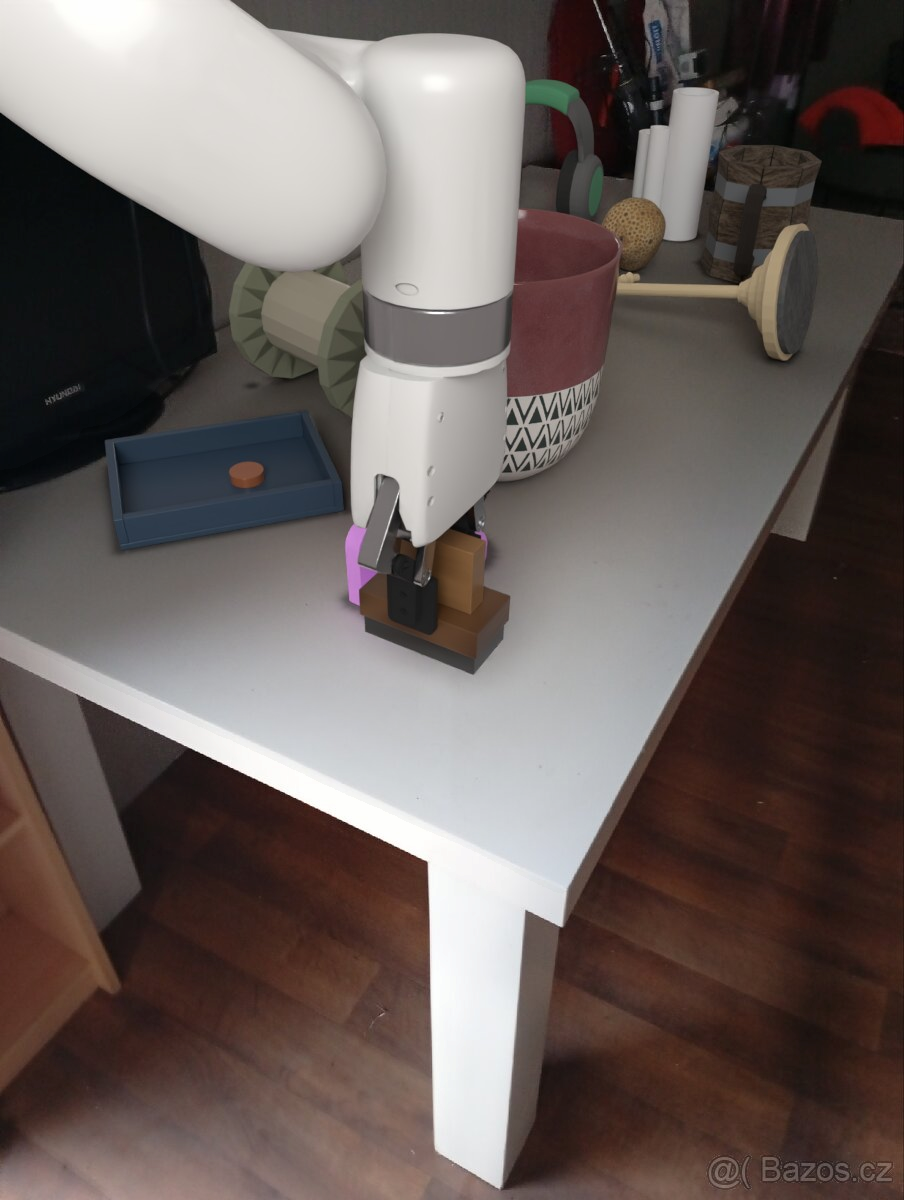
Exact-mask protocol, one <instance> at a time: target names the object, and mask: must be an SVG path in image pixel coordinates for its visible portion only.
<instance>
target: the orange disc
mask: <svg viewBox="0 0 904 1200" xmlns="http://www.w3.org/2000/svg"><path fill="white" fill-rule="evenodd" d="M229 475H230V481H231V483H232V484H233V485H234V486H236V487H239V488H251V487H255V486H257V485H259V484H261V483H262V482H263V481H264V479H265V474H264V468H263V466H262V465H261V464H259V463H256V462H242V463H238V464H236V465H234V466H232V467H231V468H230V470H229Z"/></svg>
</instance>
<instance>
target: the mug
mask: <svg viewBox="0 0 904 1200" xmlns="http://www.w3.org/2000/svg"><path fill="white" fill-rule="evenodd" d="M822 163H823V161H822V160H821V159H819V158H818V157H817V156H816V155H814V154H813V153H812V152H811V151H807V150H802V149H799V148H794V147H793V148H792V147H787V146H781V145H776V144H749V145H748V144H747V145H745V144H743V145H742V144H738V145H735V146H732V147H729V148H725V149H723V150H720V151H718V156H717V172H716V177H715V186H714V189H713V192H712V193H713V194H712V198H711V201H710V205H709V209H708V210H709V211H708V220H707V221H708V223H707V233H706V238H705V245H704V249H703V252H702V256H701V259H700V264H701V266H702V267H703V269H704V270H705V272H706V274H707V275H708V276H710V277H713V278H717V279H721V280H724V281H729V282H732V283H734V284H739V285H740V283H741V282H744V281H745V280H747V279H749V278H751V277H752V275H753V273H754V271H755V269H756V268H757V267H759V266H761V265H763V264H764V261H765V259H766V257H767V255H768V254H769V253H770V252H771V251H772V250H773V248H774V246H775V243H776V241H777V239H778V237H779V235H780V233H781V232H782V231H783V229H784V228H785V227H787V226H790V225H796V224H801V223H803V224H805V225H806V226H807V227H808V222H809V218H810V211H811V204H812V203H811V202H812V198H813V197H812V196H813V193H814V187H815V183H816V180H817V177H818V174H819V172H820V169H821V166H822Z"/></svg>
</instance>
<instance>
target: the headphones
mask: <svg viewBox="0 0 904 1200" xmlns="http://www.w3.org/2000/svg"><path fill="white" fill-rule="evenodd" d="M527 105H537V106H538V105H539V106H545V107H548V108H552V109H555V110H556V111H559V112H560V113H562V114H563V115H564V116H567V117H568V118H569V120H570V122H571V124H572V126H573V128H574V132H575V136H576V141H577V149H573V150H570V151H569V152H568V153H567V155H566V156H565V158H564V160H563V162H562V165H561V168H560V171H559V175H558V179H557V185H556V194H555V212H559V213H564V214H569V215H573V216H577V217H580V218H584V219H587V220H590V221H592V222H593V220H594V219H595V217H596V215H597V213H598V210H599V207H600V204H601V200H602V195H603V188H604V176H605V175H604V166H603V164H602V161H601V158H599V157H598V156H597V155H596V154H594V153H595V136H594V126H593V121H592V117H591V114H590V111H589V109H588V106H587V105H586V103H585V102H584V101H583V99H582V98H581V96H580V91H579V89H577V88H576V87H574V86H572V85H570V84H569V83H566V82H564V81H560V80H555V79H543V78H542V79H533V80H529V81H526V92H525V106H527ZM522 182H523V163H522V164H521V180H520V190H521V189H522Z"/></svg>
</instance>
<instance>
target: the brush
mask: <svg viewBox="0 0 904 1200" xmlns="http://www.w3.org/2000/svg"><path fill="white" fill-rule="evenodd" d="M402 521H403V520H402ZM485 551H486V541H485V540H482V539H479V538H476V537H473V536H470V535H467V534H464V533H461V532H458V531H455V530H452V529H448V530H446V531H445V532H444V533H443V534H442V535H441V536H440V537H438V538H437V539H436V545H435V552H434V560H433V567H432V574H431V576H433V577H435V578H437V579H438V611H437V629H436V630H435V631H434V633H433V634H431V635H427V634H424V633H422V632H419V631H417V630H414V629H411V628H409V627H406V626H404V625H401V624H399V623H396V622H394V621H392V620H390V618H389V617H388V605H387V574H383V573H376V574H375V575H374V576H373V577H372V578H371V579H370V580H369V581H368V582H367V583H366V584H365V585H363V586H362V587H361V588H360V589H359V603H360V606H359V614H360V615H362V616H363V617H364V618H363V619H364V632H365V633H367V634H370V635H372V636H374V637H376V638H380V639H382V640H385V641H387V642H390V643H392V644H395V645H397V646H400V647H401V648H405V649H407V650H408V651H412V652H415V653H416V654H420V655H421V656H423V657H427V658H430V659H432V660H435V661H438V662H440V663H441V664H445V665H446V666H450V667H453V668H454V669H456V670H460V671H463V672H464V673H468V674H470V675H472V676H474V675H475V674H476V673H477V672H478V671H479V670H480V668H481V667H482V666H483V664H484V663H485V662H486V661H487V660H488V659H489V657H490V656H491V655H492V653H494V651H495V650H496V649H497V648H498V646H499V645H500V644H501V643H502V641H503V640H504V637H505V636H504V635H505V626H506V624H507V623H508V622H509V620H510V608H511V595H509V594H507V593H503V592H501V591H498V590H495V589H492V588H490V587H486V586H485V568H486V560H485ZM400 553H401V554H404V555H406V556H409V557H410V558H412V559H414V560H415V561H416V553H417V547H414V546H413V544H412V543H411V542H408V541H405V540H403V539H402V541H401V549H400Z"/></svg>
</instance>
